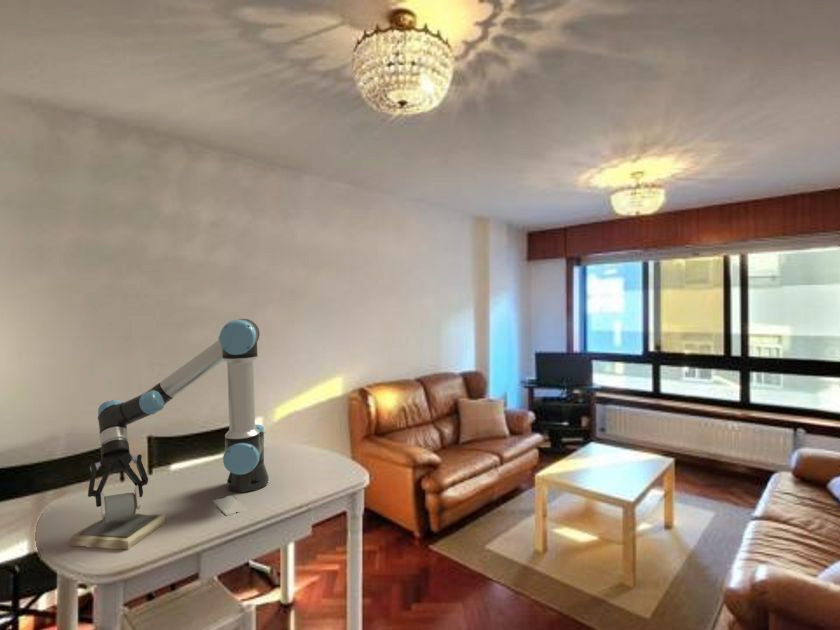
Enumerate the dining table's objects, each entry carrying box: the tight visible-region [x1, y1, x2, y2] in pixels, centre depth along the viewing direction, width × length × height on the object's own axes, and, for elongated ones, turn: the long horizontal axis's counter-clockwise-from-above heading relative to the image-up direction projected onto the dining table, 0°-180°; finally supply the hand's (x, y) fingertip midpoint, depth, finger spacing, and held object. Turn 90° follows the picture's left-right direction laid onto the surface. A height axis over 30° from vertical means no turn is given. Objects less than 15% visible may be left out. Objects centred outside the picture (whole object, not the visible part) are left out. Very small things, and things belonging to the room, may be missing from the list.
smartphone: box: [211, 494, 238, 516], centre depth 157 cm, size 7×1×15 cm
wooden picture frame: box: [69, 512, 166, 551], centre depth 137 cm, size 18×16×3 cm
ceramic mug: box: [103, 492, 137, 523], centre depth 138 cm, size 11×8×8 cm
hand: (121, 511), depth 134 cm, fingers closed on ceramic mug, 8 cm apart
